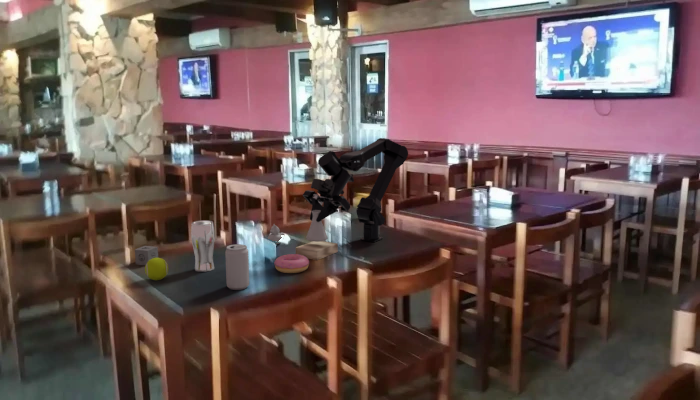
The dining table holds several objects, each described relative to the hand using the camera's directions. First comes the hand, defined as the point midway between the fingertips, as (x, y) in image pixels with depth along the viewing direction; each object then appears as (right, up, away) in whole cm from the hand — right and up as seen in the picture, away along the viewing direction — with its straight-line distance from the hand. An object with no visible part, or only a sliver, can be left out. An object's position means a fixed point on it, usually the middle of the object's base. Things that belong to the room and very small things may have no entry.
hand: (313, 220), depth 200 cm
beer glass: (-34, -15, -14) cm, 39 cm away
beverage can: (-20, -18, -31) cm, 41 cm away
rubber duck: (-15, -9, +17) cm, 24 cm away
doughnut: (-6, -15, -14) cm, 21 cm away
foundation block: (+1, -12, +3) cm, 12 cm away
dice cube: (-54, -14, -6) cm, 56 cm away
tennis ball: (-45, -17, -24) cm, 54 cm away
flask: (+1, -7, +2) cm, 7 cm away
